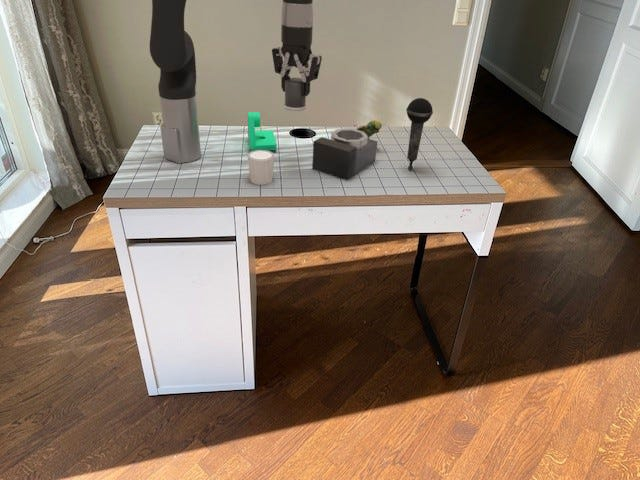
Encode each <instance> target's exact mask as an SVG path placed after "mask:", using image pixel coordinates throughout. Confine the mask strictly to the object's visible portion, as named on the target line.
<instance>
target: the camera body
mask: <svg viewBox="0 0 640 480" xmlns="http://www.w3.org/2000/svg"><path fill="white" fill-rule="evenodd" d="M378 143H379V142H378V141H377V140H373V139H370V138H369V139H368V136H367V135H366V134H365V132H363V131H359V130H356V129H355V128H339V129H336V130H334V131H332V132H331V136H330V139H329V138H328V137H327V138H326V137H323V136H320V137H319V138H317V139H315V140H313V145H312V146H313V147H312V148H313V149H312V150H313V151H312V170H314V171H318V172H320V173H324V174H325V175H326V174H327V175H329V176H333V177H336V178H339V179H342V180H346V181H348V180H349V179H351V178H352V177H354V176H355V175H357V174H358V173H360V172H361V171H363V170H364V169H366V168H368V167H369V166H370V165H372V164H373V163H375V162H376V159H377V150H378V149H377V148H378Z"/></svg>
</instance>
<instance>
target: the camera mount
mask: <svg viewBox="0 0 640 480" xmlns="http://www.w3.org/2000/svg"><path fill="white" fill-rule="evenodd" d="M260 113H261V112H260V111H248V112H247V137H248V146H249V147H248V149H249V150H250V152H251V151H255V150H267V151H276V150H277V140H276V138H275V133H274V131H273V130H271V129H269V130H266V129H265V130H264V129H263V130H255V128H261V114H260Z"/></svg>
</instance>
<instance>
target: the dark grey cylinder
mask: <svg viewBox="0 0 640 480" xmlns="http://www.w3.org/2000/svg"><path fill="white" fill-rule="evenodd" d="M302 82H303V80H302V77H290V78H288V79H285V92H284V103H283V104H284V109H285V110H287V111H292V112H300V111H301V112H302V111H304V110H306V109H307V108H306V107H307V104H306V102H307V101H306V98H307V96H305V97H303V96H301V89H302Z"/></svg>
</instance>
